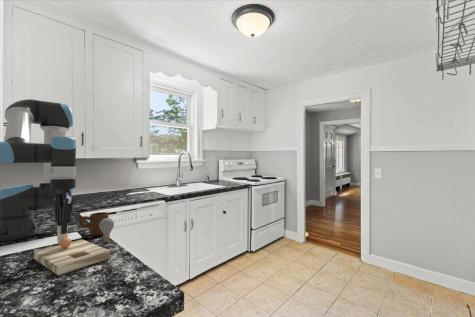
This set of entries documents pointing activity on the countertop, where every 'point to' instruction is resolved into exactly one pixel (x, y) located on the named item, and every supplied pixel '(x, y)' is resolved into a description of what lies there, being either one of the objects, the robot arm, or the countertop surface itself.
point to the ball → (65, 242)
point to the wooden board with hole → (71, 256)
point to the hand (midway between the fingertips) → (62, 242)
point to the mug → (94, 222)
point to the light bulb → (106, 228)
